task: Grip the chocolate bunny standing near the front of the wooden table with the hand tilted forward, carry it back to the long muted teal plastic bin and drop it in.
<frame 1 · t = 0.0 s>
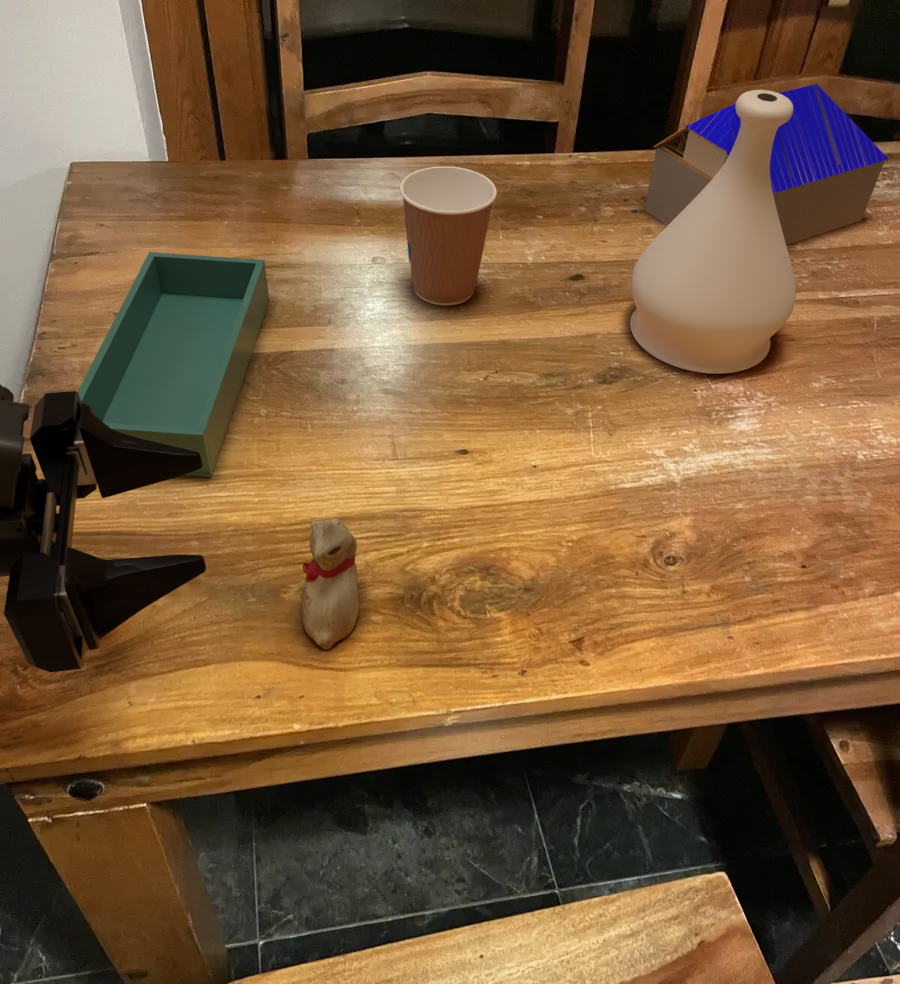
hand: (203, 509, 58), 18 cm above the table, tool horizontal, fingers open, 9 cm apart
chocolate bunny: (331, 610, 76), on the table
house: (752, 216, 123), on the table
vase: (699, 333, 105), on the table
coffee cup: (443, 291, 108), on the table
bin: (181, 376, 95), on the table
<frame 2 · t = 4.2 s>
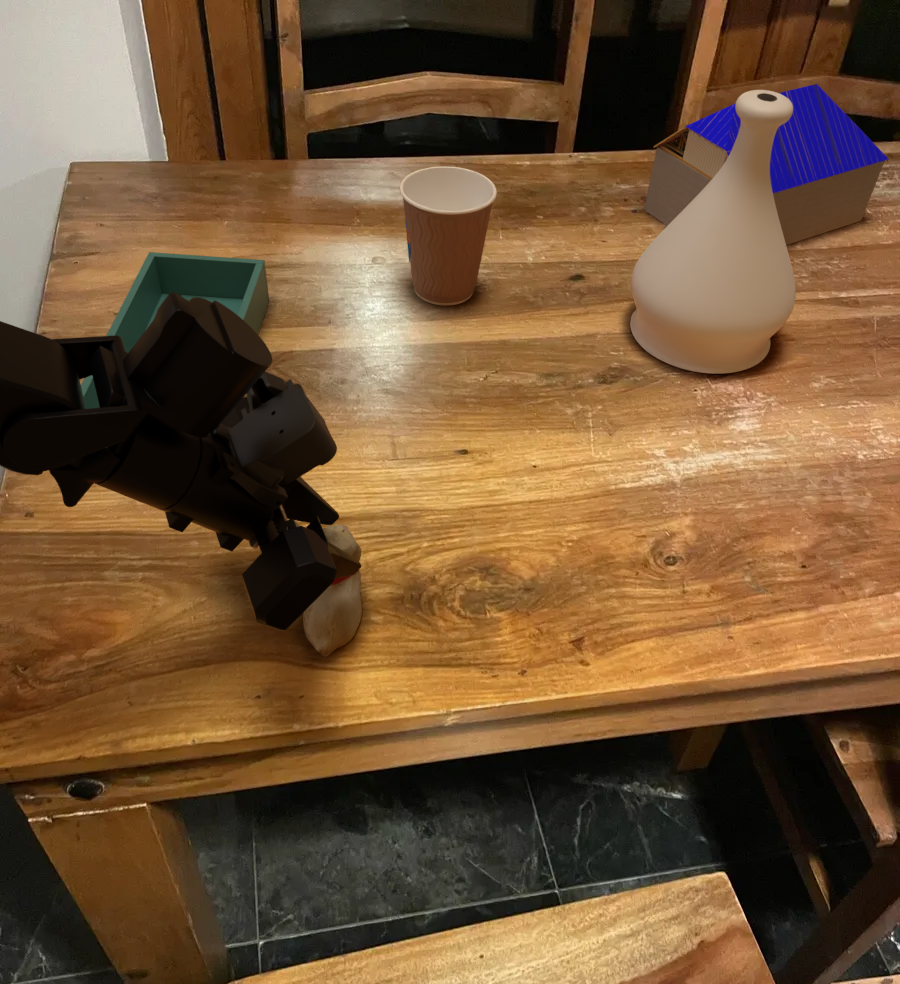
hand: (346, 544, 72), 7 cm above the table, tool tilted 45°, fingers closed on chocolate bunny, 5 cm apart
chocolate bunny: (334, 615, 76), on the table, touching gripper
everything else where it was.
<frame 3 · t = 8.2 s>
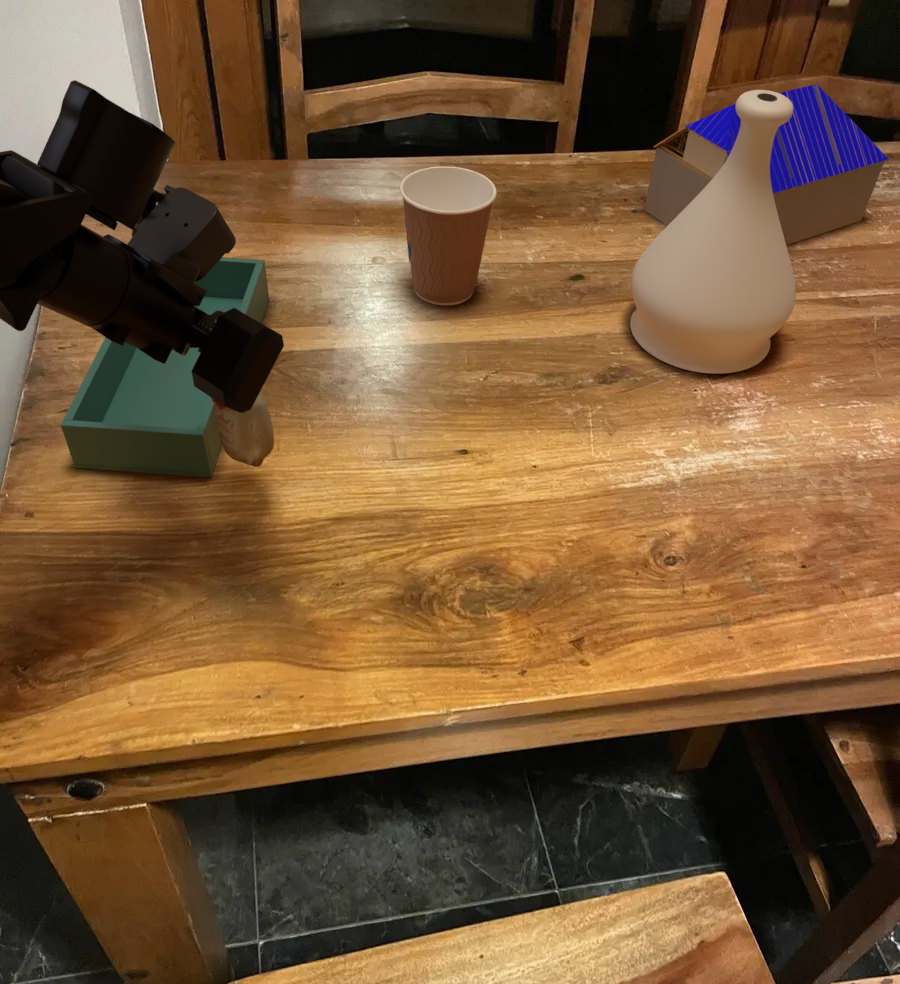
hand: (242, 355, 76), 13 cm above the table, tool tilted 45°, fingers closed on chocolate bunny, 5 cm apart
chocolate bunny: (245, 437, 80), point 6 cm above the table, touching gripper
everything else where it was.
when the fingers open (7 cm above the table, at t = 12.2 s): chocolate bunny stays where it is, resting on bin.
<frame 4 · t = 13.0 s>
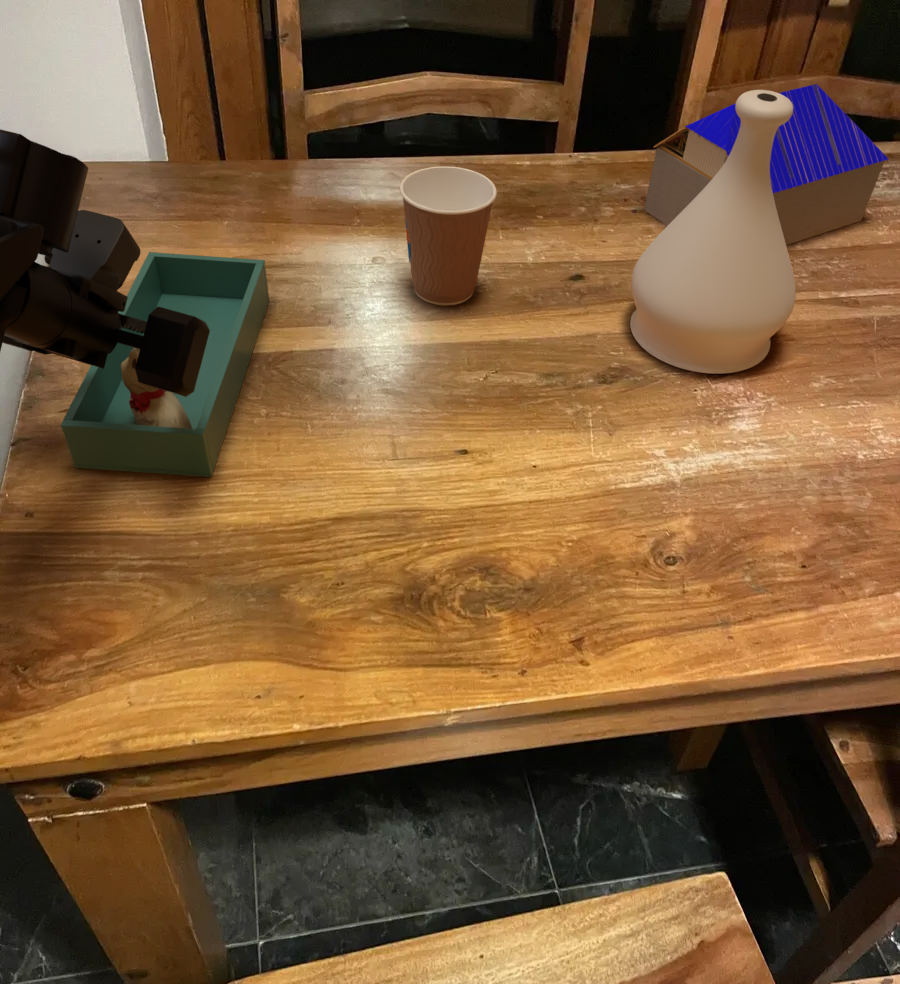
hand: (150, 353, 84), 8 cm above the table, tool tilted 45°, fingers open, 9 cm apart
chocolate bunny: (164, 434, 89), resting on bin
everything else where it was.
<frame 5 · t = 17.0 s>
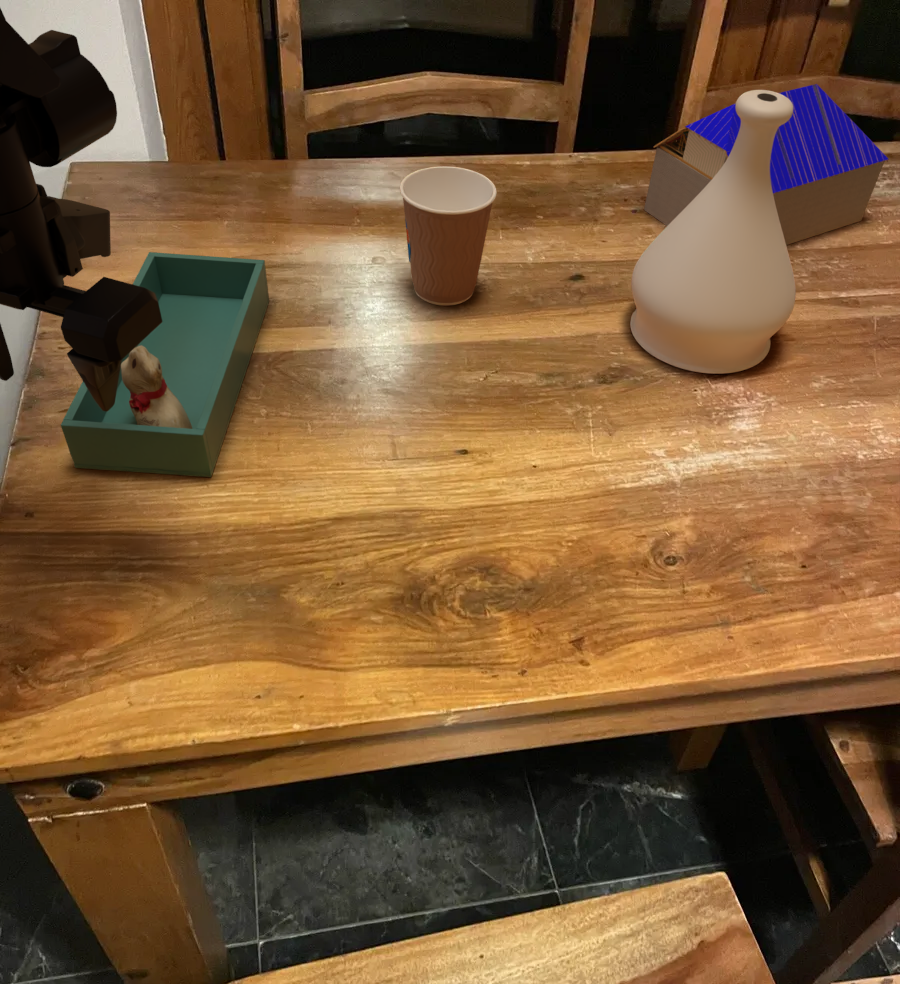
hand: (57, 392, 72), 13 cm above the table, tool pointing down, fingers open, 9 cm apart
nothing on the table moved.
at the end: chocolate bunny inside the target area in the bin (9.7 cm from its centre), point 0.3 cm above the bin's base; the gripper is holding nothing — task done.
